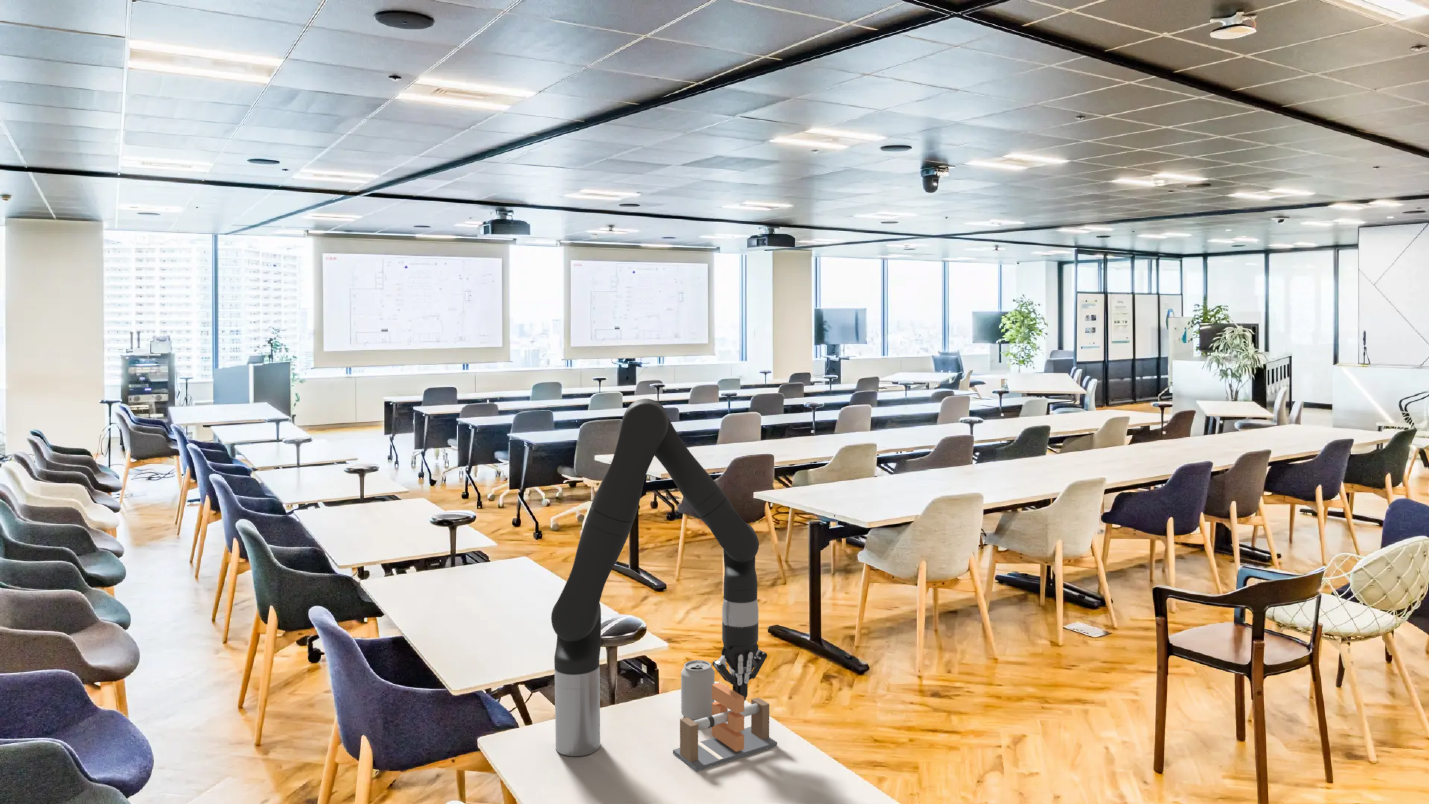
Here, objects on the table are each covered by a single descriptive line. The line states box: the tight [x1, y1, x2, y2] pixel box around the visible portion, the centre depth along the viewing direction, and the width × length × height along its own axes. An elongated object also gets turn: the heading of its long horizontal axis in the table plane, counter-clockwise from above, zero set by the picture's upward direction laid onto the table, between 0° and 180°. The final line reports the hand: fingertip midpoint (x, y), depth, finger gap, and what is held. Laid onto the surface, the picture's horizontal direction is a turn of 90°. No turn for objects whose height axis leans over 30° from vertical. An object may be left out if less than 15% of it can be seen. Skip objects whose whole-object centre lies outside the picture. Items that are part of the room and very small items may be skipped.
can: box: [680, 659, 716, 721], centre depth 205 cm, size 8×8×12 cm
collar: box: [711, 682, 745, 752], centre depth 188 cm, size 2×9×11 cm, turn 33°
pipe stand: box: [672, 697, 778, 772], centre depth 188 cm, size 20×9×8 cm, turn 123°
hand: (739, 700), depth 190 cm, fingers closed
